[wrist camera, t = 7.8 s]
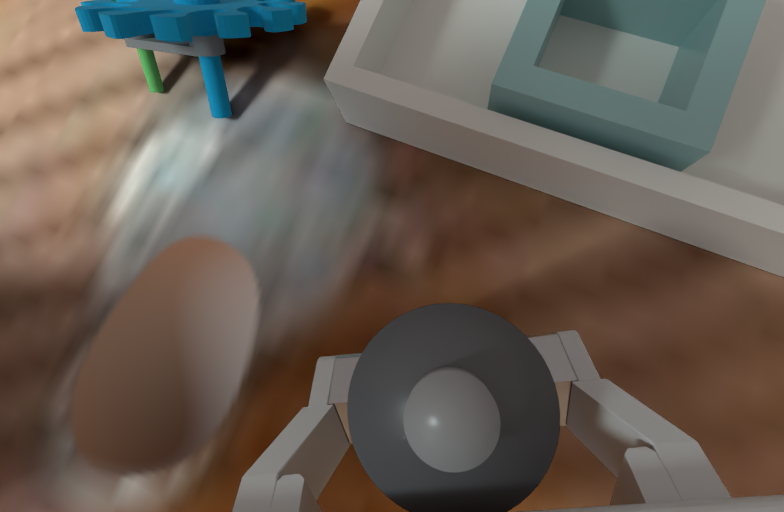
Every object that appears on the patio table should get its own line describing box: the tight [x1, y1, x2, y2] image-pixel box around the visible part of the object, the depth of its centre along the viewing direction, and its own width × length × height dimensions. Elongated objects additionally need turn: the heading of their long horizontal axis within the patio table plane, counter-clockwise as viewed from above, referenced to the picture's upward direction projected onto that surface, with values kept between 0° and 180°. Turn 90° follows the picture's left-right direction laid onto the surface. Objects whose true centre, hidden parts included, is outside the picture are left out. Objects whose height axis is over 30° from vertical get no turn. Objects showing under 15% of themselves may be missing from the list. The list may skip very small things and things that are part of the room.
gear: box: [75, 0, 307, 118], centre depth 22 cm, size 11×6×10 cm
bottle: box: [347, 303, 560, 512], centre depth 12 cm, size 4×4×10 cm
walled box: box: [324, 0, 784, 277], centre depth 18 cm, size 22×16×5 cm
